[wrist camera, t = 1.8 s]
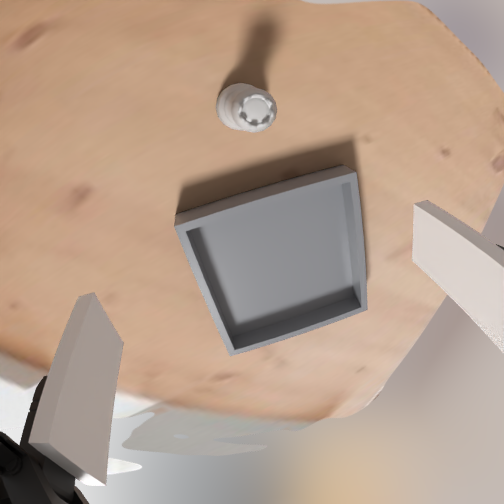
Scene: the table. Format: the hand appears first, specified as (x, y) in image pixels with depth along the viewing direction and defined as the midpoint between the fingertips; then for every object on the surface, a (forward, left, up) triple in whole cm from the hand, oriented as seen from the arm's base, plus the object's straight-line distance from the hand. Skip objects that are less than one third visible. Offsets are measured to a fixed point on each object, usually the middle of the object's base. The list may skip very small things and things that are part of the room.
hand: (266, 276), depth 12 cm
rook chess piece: (-5, +3, -20) cm, 21 cm away
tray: (+12, +3, -20) cm, 24 cm away
